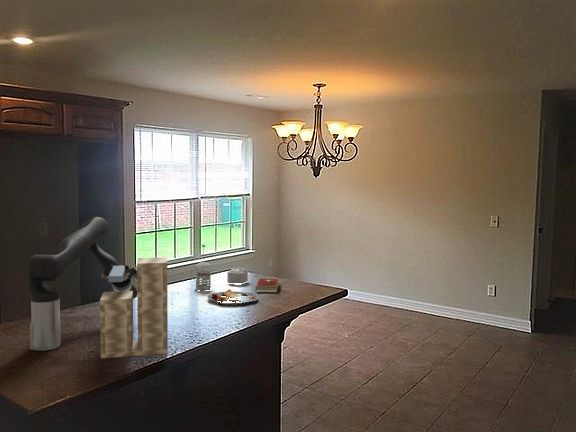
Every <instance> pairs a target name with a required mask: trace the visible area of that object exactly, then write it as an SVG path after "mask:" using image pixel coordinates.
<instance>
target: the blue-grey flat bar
mask: <svg viewBox="0 0 576 432" xmlns="http://www.w3.org/2000/svg"><path fill="white" fill-rule="evenodd" d="M124 275H125V265H120V266H113V269H112V270H111V272H110V274H109V282H122V281H123V278H124ZM109 282H108V283H109Z"/></svg>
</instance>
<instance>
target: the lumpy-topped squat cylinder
mask: <svg viewBox="0 0 576 432" xmlns="http://www.w3.org/2000/svg"><path fill="white" fill-rule="evenodd" d="M248 273H249V271H248V270H247V269H245V267H242V268H241V267H237V268H234V267H232V268H230V270H228V271H227V276H226V277H227V281H226V283H227V282H228V283H244V282H246V281H248V280H249V279H248V278H249V276H248Z"/></svg>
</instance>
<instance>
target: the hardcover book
mask: <svg viewBox="0 0 576 432" xmlns="http://www.w3.org/2000/svg"><path fill="white" fill-rule="evenodd" d="M279 283H280V278H258V280H257V283H256V286H255V291H256V290H277V288H278V289H279V285H280V284H279Z"/></svg>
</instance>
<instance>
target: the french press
mask: <svg viewBox="0 0 576 432" xmlns="http://www.w3.org/2000/svg"><path fill="white" fill-rule="evenodd" d="M205 247H206V245H205V244H202V245H201V248H202V249H203V253H202V255H203V258H202V259H203V260H202V262H199V263H197V264H195V267H194V268H193V269H192V270H191V271H190V274H193V271H194V270H196V269H198V268H197V267H199V268H203V269H202V270H200V271H196V273H197V274H196V275H195V277H196V278H194V276H193V275H190V276H191V277H190V278H191V279H192V280H193V281H194V282H195V288H194V291H195V290H200V291H205V290H210V288H212V287H211V286H212V285H211V282H212V281H211V279H212V278H211V274H210V273H211V271H208V270H207V271H205V268H208V267H211V266H212V264H210V263H209V262H205V260H204V258H205V257H204V255H205V254H204V253H205V252H204V251H205Z"/></svg>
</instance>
